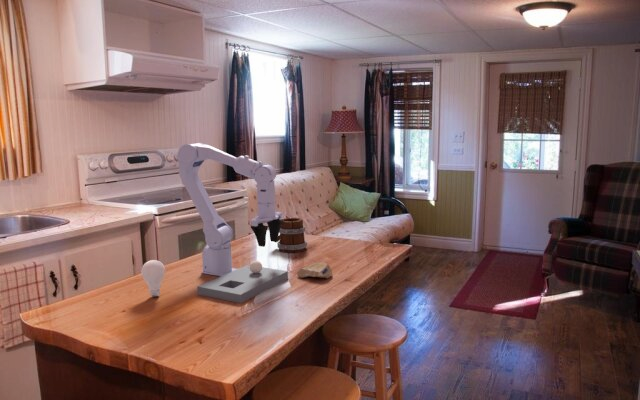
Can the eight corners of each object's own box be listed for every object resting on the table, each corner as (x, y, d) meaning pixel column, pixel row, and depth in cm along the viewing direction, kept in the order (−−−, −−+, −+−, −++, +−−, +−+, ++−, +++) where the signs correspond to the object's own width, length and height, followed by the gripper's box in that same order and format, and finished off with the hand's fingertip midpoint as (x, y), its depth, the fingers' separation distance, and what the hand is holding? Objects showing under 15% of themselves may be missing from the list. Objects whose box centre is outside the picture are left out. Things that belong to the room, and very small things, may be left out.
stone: (321, 283, 158) (321, 269, 157) (295, 278, 164) (294, 264, 163) (336, 276, 165) (336, 262, 164) (310, 271, 171) (310, 258, 170)
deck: (197, 294, 150) (197, 286, 149) (247, 272, 170) (247, 264, 170) (240, 303, 142) (240, 294, 141) (288, 278, 162) (287, 271, 162)
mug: (302, 254, 190) (294, 214, 189) (268, 257, 196) (261, 219, 194) (314, 246, 201) (307, 209, 200) (282, 249, 207) (275, 213, 205)
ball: (247, 273, 160) (246, 261, 159) (254, 270, 163) (254, 258, 163) (257, 275, 158) (256, 263, 157) (265, 272, 162) (264, 259, 161)
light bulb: (171, 294, 151) (169, 258, 149) (157, 301, 144) (154, 264, 143) (152, 292, 153) (150, 256, 151) (138, 299, 147) (135, 262, 145)
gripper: (263, 207, 155) (265, 250, 157) (289, 199, 168) (290, 240, 170) (244, 205, 159) (246, 247, 161) (271, 198, 171) (273, 237, 173)
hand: (268, 243), depth 165 cm, fingers open, 6 cm apart
